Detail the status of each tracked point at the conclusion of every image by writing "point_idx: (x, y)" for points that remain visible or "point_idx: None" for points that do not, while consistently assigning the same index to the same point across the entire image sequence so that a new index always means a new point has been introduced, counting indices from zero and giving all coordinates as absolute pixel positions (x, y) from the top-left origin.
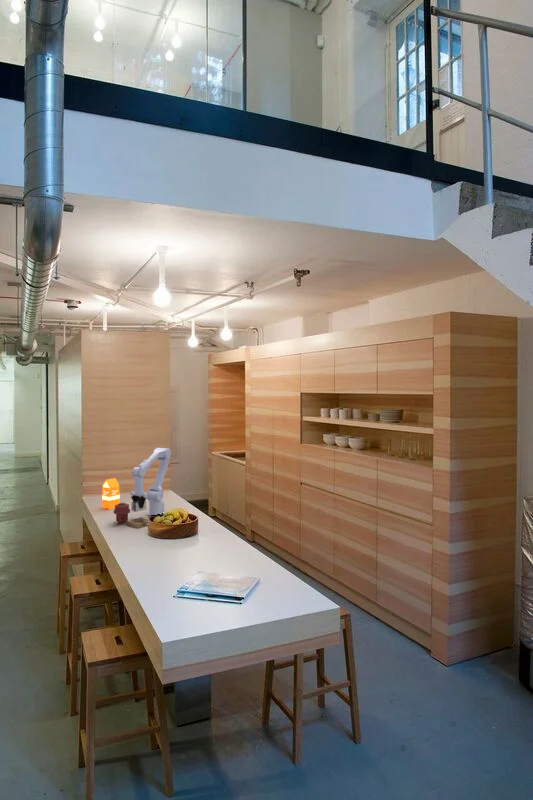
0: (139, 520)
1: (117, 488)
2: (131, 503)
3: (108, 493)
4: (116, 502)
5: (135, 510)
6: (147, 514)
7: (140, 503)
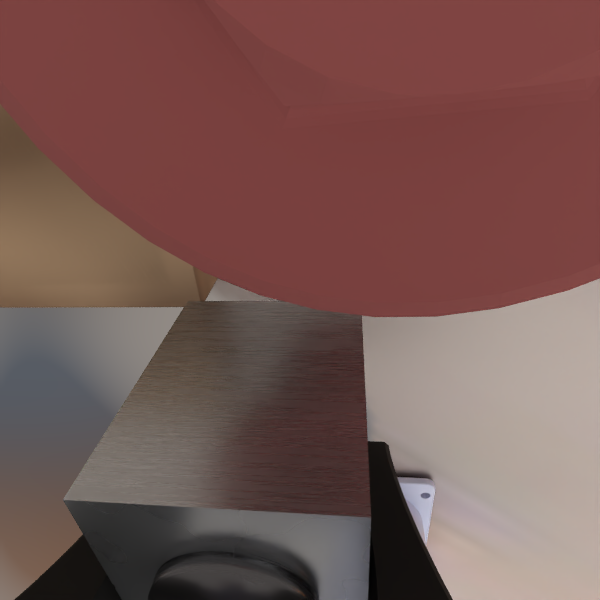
0: (16, 175)
1: None
2: (361, 464)
3: None
4: None
5: (193, 320)
6: (410, 480)
7: (64, 554)
